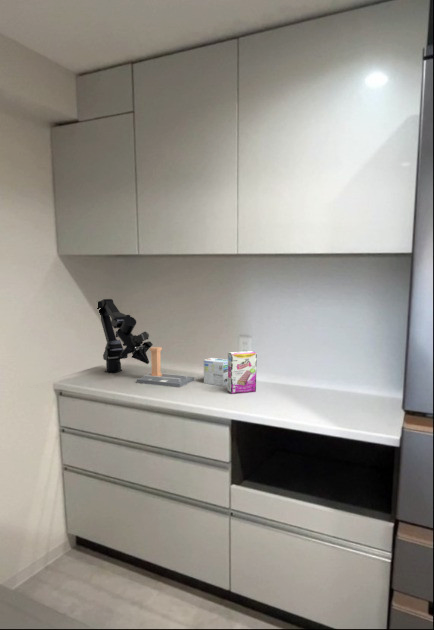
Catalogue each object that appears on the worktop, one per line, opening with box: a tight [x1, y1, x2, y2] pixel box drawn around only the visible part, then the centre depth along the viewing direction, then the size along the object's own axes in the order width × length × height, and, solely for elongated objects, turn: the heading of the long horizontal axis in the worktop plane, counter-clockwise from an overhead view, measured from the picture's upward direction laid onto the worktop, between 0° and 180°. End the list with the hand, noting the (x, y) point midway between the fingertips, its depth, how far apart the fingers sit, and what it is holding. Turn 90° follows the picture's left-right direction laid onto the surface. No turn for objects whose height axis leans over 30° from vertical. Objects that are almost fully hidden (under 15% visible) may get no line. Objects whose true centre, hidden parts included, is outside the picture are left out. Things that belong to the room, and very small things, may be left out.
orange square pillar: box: [149, 346, 163, 376], centre depth 198 cm, size 4×4×13 cm
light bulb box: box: [203, 357, 228, 387], centre depth 193 cm, size 11×7×11 cm, turn 58°
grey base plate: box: [136, 372, 195, 388], centre depth 197 cm, size 22×14×3 cm, turn 66°
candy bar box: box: [227, 350, 258, 395], centre depth 178 cm, size 11×5×16 cm, turn 109°
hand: (148, 363), depth 200 cm, fingers closed
